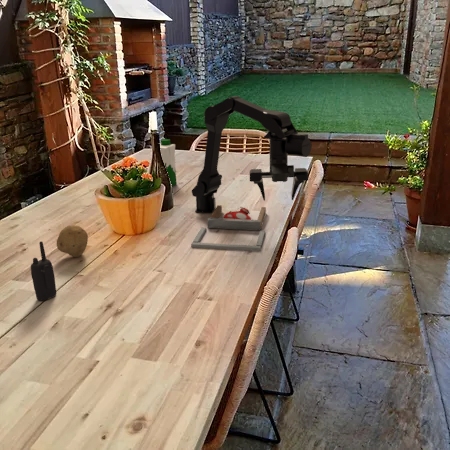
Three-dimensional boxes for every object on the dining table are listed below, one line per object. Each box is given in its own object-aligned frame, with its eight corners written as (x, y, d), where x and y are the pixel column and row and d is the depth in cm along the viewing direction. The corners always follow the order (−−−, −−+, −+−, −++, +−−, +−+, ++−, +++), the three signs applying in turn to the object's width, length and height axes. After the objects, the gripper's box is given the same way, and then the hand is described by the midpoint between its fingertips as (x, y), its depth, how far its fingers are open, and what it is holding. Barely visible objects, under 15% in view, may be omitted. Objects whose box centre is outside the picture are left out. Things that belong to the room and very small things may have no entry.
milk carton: (179, 183, 213) (177, 139, 206) (168, 189, 206) (165, 143, 198) (163, 181, 217) (160, 138, 210) (151, 186, 210) (148, 142, 202)
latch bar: (207, 227, 162) (207, 219, 160) (208, 225, 163) (208, 217, 162) (260, 230, 158) (260, 222, 157) (260, 228, 160) (260, 220, 159)
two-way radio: (53, 290, 123) (43, 238, 118) (62, 296, 121) (53, 242, 115) (33, 299, 119) (23, 245, 114) (43, 305, 117) (32, 249, 111)
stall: (209, 226, 164) (209, 219, 163) (217, 211, 178) (217, 205, 177) (261, 228, 161) (261, 221, 160) (265, 213, 174) (265, 207, 174)
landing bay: (191, 247, 148) (191, 244, 147) (201, 230, 161) (201, 227, 160) (259, 251, 144) (259, 248, 143) (264, 233, 157) (264, 230, 156)
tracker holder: (254, 224, 163) (226, 219, 161) (251, 234, 165) (223, 229, 163) (251, 205, 173) (224, 200, 171) (247, 215, 175) (221, 210, 173)
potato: (58, 264, 138) (53, 233, 134) (59, 252, 146) (54, 222, 142) (90, 260, 140) (86, 229, 136) (90, 249, 148) (86, 219, 144)
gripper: (249, 159, 144) (250, 208, 149) (311, 158, 143) (309, 207, 148) (249, 152, 154) (250, 197, 160) (307, 150, 153) (305, 196, 159)
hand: (278, 200), depth 156 cm, fingers open, 9 cm apart
